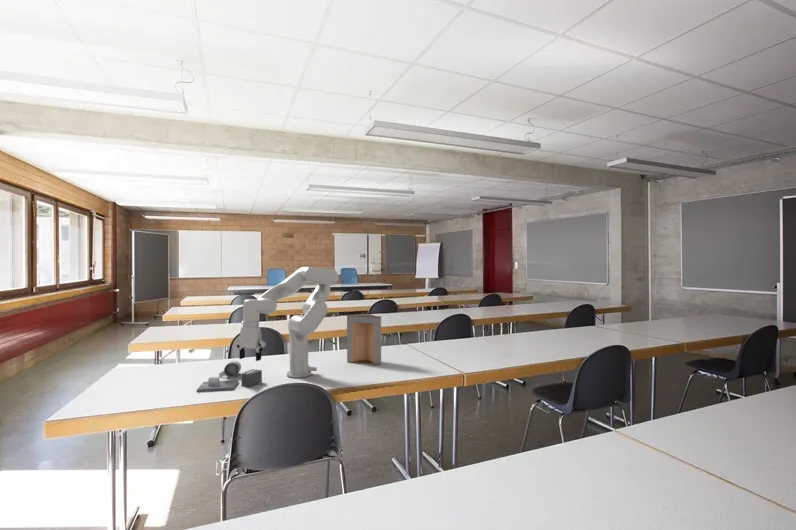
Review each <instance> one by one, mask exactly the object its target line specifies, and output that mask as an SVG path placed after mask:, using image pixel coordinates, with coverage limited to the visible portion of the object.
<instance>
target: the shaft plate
mask: <svg viewBox="0 0 796 530" xmlns="http://www.w3.org/2000/svg"><path fill="white" fill-rule="evenodd" d="M207 380H208V381H203V382H202V383H201V384H200V385H199V387H197V389H196V393H200V392H201V393H204V392H219V391H222V392H223V391H234V390H235V388H236V387H237V385H238V384H239V379H231V380H220V376H209V377H208V379H207Z"/></svg>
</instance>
